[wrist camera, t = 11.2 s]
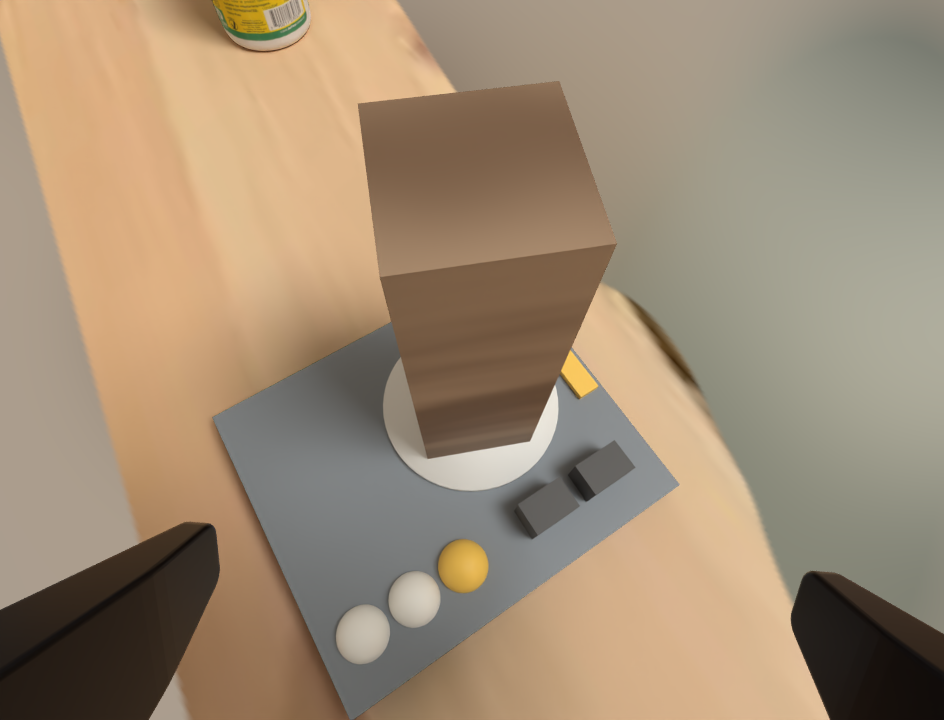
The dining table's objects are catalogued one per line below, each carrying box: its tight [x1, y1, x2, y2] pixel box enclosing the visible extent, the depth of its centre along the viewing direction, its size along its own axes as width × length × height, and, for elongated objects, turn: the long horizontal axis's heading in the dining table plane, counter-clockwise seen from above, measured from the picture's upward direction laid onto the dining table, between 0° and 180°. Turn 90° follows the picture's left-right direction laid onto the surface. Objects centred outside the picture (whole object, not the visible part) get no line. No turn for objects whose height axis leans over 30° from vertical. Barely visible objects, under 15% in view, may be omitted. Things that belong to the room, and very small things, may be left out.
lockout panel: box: [212, 322, 680, 720], centre depth 20 cm, size 12×14×3 cm
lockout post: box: [358, 81, 617, 459], centre depth 15 cm, size 4×4×12 cm
